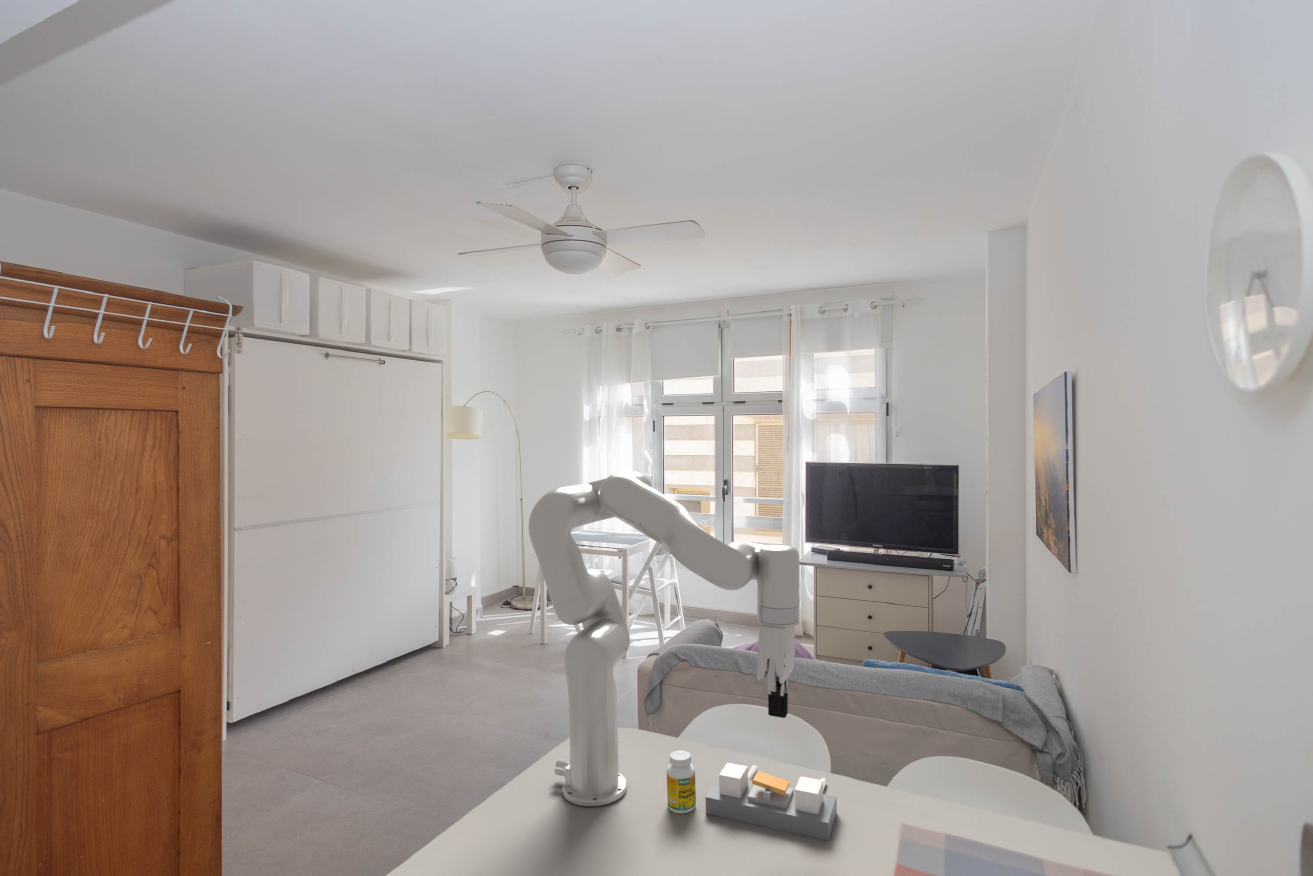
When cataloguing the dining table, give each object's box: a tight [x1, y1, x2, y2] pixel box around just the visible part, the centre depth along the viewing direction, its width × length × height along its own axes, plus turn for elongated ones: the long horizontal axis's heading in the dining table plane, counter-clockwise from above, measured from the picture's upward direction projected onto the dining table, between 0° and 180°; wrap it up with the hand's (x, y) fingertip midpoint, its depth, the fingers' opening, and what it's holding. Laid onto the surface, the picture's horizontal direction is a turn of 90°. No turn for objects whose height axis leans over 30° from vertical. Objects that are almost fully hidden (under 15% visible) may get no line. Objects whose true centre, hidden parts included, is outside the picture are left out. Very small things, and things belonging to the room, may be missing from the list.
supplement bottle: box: [666, 750, 697, 815], centre depth 122 cm, size 5×5×10 cm
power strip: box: [705, 762, 838, 842], centre depth 124 cm, size 22×19×6 cm
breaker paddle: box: [752, 770, 791, 795], centre depth 119 cm, size 6×4×1 cm, turn 66°
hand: (778, 715), depth 119 cm, fingers closed
